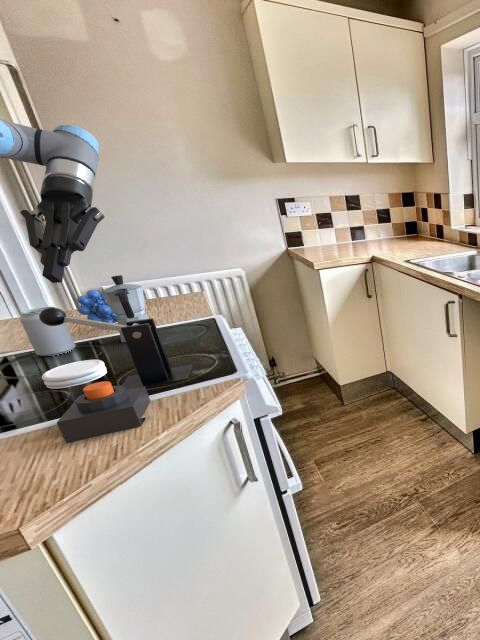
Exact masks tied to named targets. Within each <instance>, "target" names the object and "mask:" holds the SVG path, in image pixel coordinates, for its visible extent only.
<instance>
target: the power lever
mask: <svg viewBox="0 0 480 640" xmlns="http://www.w3.org/2000/svg"><path fill="white" fill-rule="evenodd" d="M39 319H40V321H41V322H42V323H44V324H46V325H48V326H59V325H61V324H63V323H64V322H66V323H69V324H75V325H81V326H87V327H94V328H99V329H106V330H112V331H121V327H125V325H119V324H118V323H115V324H113V323H107V322H101V321H95V320H89V319H87V318H82V317H76V316H70V315H67V313H66V312H65V311H64V310H63V309H61V308H59V307H56V308H46V309H44V310H42V311H41V312H40V314H39ZM133 325H139V324H137V323H134V324H133ZM150 328H151V326H150Z"/></svg>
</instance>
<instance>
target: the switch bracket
mask: <svg viewBox="0 0 480 640" xmlns="http://www.w3.org/2000/svg"><path fill="white" fill-rule="evenodd" d="M134 323H137V324H139V325H133V324H134ZM126 324H127V326H125V327H121V331H122V333H123V336H124V338H125V341H126V342H125V344H126V346H127V348H128V351H129V353H130V357H131V359H132V362H133V364H134V366H135V370H136V373H137V374H133V375H128V376H127V377H126V378H125V380H124V381H123V383H122V384H121V386H123V387H124V388H125V389H126V390H129V389H134V388H139V387H146V389H147V388H152V387H156V386H161V385H166V384H167V385H168V384H172V383H176V382H182V381H187V380H189V378H190V376H191V373H192V371H193V368H194V366H195V365H194V364H193V363H192V364H187V365H181V366H176V367H171V365H170V362H169V358H168V355H167V353H166V350H165V347H164V345H163V342H162V339H161V336H160V333H159V331H158V328H157V325H156V323H155V319H154V318H153V317H151V318H149V319H143V320H136V321H129V322H127V323H126ZM150 326H151V328H150Z"/></svg>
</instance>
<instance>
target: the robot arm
mask: <svg viewBox="0 0 480 640" xmlns="http://www.w3.org/2000/svg"><path fill="white" fill-rule="evenodd" d="M99 152H100V144H99V141H98V140H97V139H96V137H95V136H94V135H93V134H92V133H90V132H89V131H87V130H86V129H84V128H82V127H79V126H76V125H72V124H60V125H57V126H55V127H54V129H53V130H52V131H51V130H46V129H41V128H36V127H32V126H29V125H28V126H27V125H23V124H20V123H16V122H11V121H8V120H5V119H2V118H0V159H6V160H12V161H18V162H23V163H27V164H28V163H29V164H34V165H39V166H41V167H45V169H44V173H43V178H42V183H41V188H40V193H39V194H40V195H39V196H40V202H39V203H38V204H37V205H36V208H35V209H33V210H30V211H29V210H27V209H21V210H20V212H19V213H20V215H21V216H22V217H23V218H24V219H25V224H26V225H25V226H26V231H27V236H28V241H29V246H30V247H31V248H33V249H34V250H35V251H37V252H38V253H39V254H41V256H40V264H42V266H43V268H42V277H43V278H45V279H46V280H48V281H49V282H51V284H56V283H63V280H64V274H65V269H66V267H69V266H70V265H71V259H72V254H74V252H83V251H85V250H86V249H87V246H88V244H89V242H90V240H91V238H92V236H93V234H94V232H95V230H96V228H97V226H98V224H99V223H101V222H102V221H103V219H105V217H106V216H105V215H104V213H102V212H101V211H100V210H99V208H98V207H96V206H93V207H92V204H93V203H92V202H93V197H94V189H95V182H96V174H97V169H98V164H99V161H100V157H99ZM42 216H43V217H44V221H45V224H44V228H43V225H42V222H43V220H42Z"/></svg>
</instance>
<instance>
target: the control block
mask: <svg viewBox="0 0 480 640" xmlns="http://www.w3.org/2000/svg"><path fill="white" fill-rule="evenodd" d="M112 388H113V390H114V393H113V394H111V395H109V396H106V397H103V398H99V399H94V400H87V398H86V395H85V393H82V394H80V395H79V396H77V397H76V399H74V402H73V403H72V404H71V405H70V406H69V407H68V409H67V410H66V411H65V412H64V413H63V414H62V415H61V417H59V419H58V420H57V421H56V424H57V426H58V428H59V430H60V433H61V434H62V437H63V439H64V441H65V443H66V444H71V443H75V442H79V441H84V440H89V439H93V438H96V437H102V436H105V435H110V434H114V433H118V432H122V431H123V432H124V431H128V430H132V429H136V428H142V426H143V424H144V423H145V421H146V416H145V417H143V416H144V414H145V413H146V411H147V409H148V407H149V405H150V403H151V398H150V395H149V392H148V390H147V388H146V387H139V388H134V389H129V390H126V389H125V388H124V387H123V386H122V385H112Z"/></svg>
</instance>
